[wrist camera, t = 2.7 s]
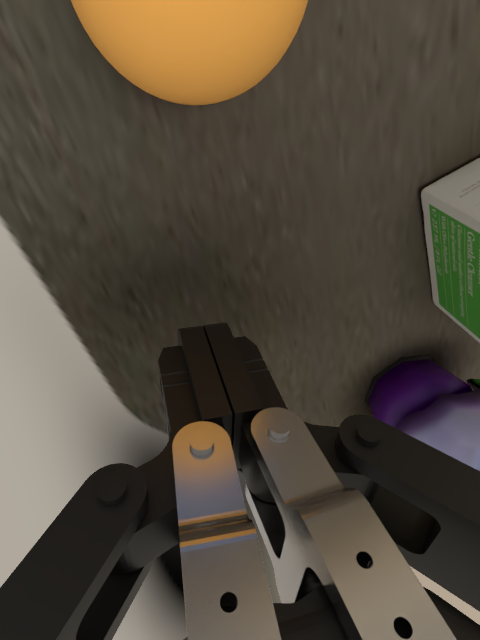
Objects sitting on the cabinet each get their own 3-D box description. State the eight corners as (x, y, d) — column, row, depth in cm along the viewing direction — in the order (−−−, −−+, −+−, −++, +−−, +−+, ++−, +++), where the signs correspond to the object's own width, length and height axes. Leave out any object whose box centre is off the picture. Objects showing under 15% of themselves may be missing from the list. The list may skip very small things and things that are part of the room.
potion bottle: (482, 351, 28) (669, 518, 19) (404, 432, 32) (526, 604, 22) (399, 322, 24) (584, 515, 15) (320, 418, 28) (428, 620, 18)
